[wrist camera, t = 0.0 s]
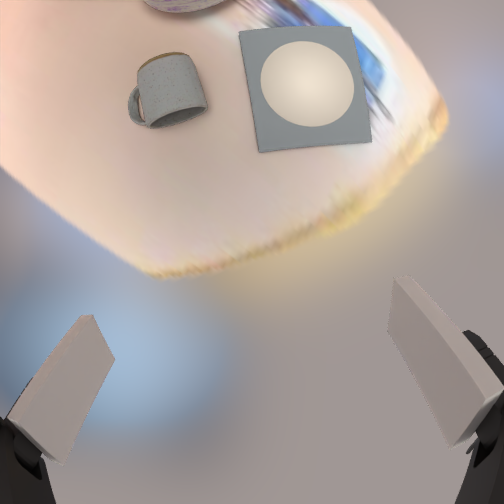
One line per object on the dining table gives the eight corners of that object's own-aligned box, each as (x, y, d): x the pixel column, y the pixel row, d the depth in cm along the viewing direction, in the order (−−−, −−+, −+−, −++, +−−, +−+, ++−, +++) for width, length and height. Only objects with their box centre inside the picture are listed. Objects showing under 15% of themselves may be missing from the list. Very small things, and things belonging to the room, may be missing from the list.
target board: (239, 35, 28) (238, 31, 27) (347, 30, 27) (351, 26, 26) (259, 152, 35) (259, 152, 33) (367, 142, 34) (372, 142, 32)
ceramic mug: (196, 59, 30) (181, 41, 23) (213, 111, 33) (201, 103, 26) (126, 89, 31) (99, 81, 24) (141, 139, 34) (115, 141, 27)
